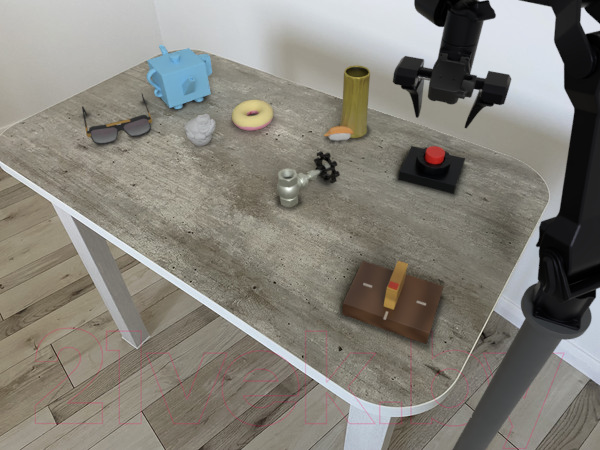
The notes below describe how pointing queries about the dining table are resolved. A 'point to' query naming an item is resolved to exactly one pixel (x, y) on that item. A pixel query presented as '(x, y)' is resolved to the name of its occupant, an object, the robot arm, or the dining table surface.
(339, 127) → the sushi
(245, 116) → the donut
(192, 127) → the grey lumpy blob
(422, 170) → the button box
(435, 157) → the button
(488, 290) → the dining table surface
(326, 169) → the valve
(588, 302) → the robot arm
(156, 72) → the teapot
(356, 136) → the vase
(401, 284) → the lock knob
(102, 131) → the sunglasses
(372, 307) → the panel
